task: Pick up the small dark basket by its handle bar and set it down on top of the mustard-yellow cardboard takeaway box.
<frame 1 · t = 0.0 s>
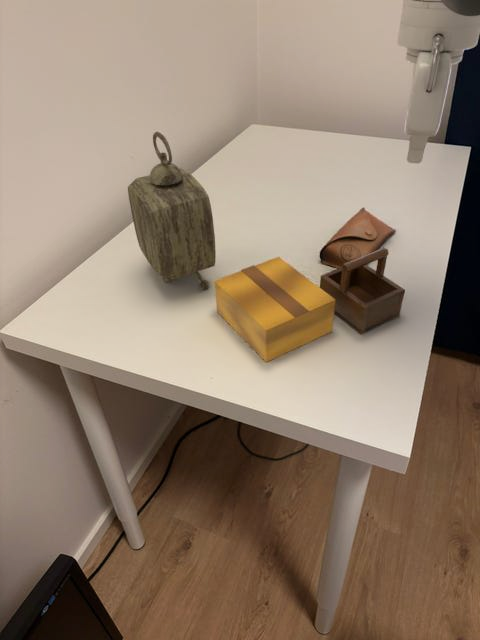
hand: (415, 147, 64), 24 cm above the table, tool pointing down, fingers open, 8 cm apart
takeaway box: (272, 321, 75), on the table
sunglasses case: (358, 247, 91), on the table
tabletop clock: (178, 279, 85), on the table
basket: (358, 308, 77), on the table
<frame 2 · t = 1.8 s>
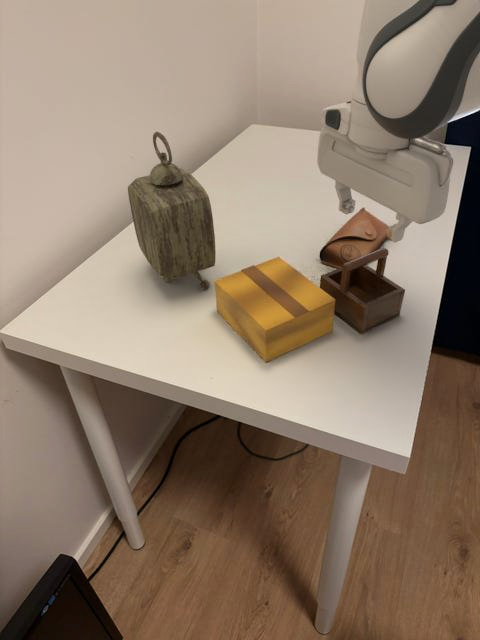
hand: (368, 224, 68), 15 cm above the table, tool pointing down, fingers open, 8 cm apart
nothing on the table moved.
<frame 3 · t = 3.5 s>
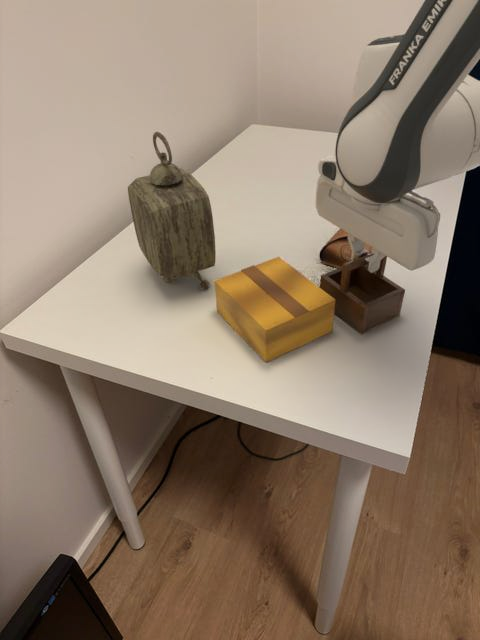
hand: (364, 265, 72), 8 cm above the table, tool pointing down, fingers closed on basket
basket: (358, 308, 77), on the table, touching gripper
everything else where it was.
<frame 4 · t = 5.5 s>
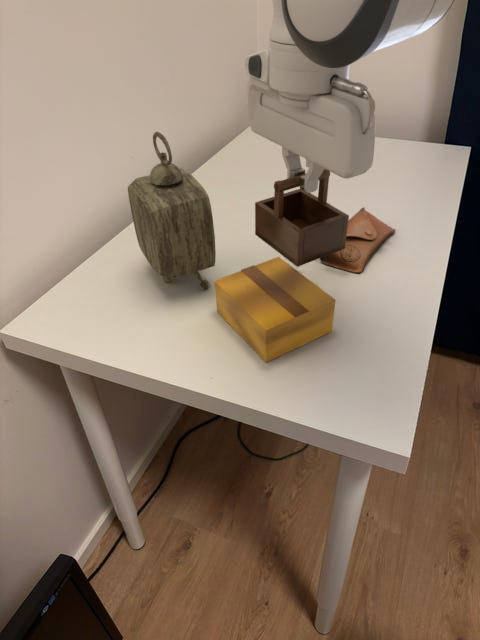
hand: (301, 186, 62), 22 cm above the table, tool pointing down, fingers closed on basket
basket: (298, 241, 67), point 13 cm above the table, touching gripper
everything else where it was.
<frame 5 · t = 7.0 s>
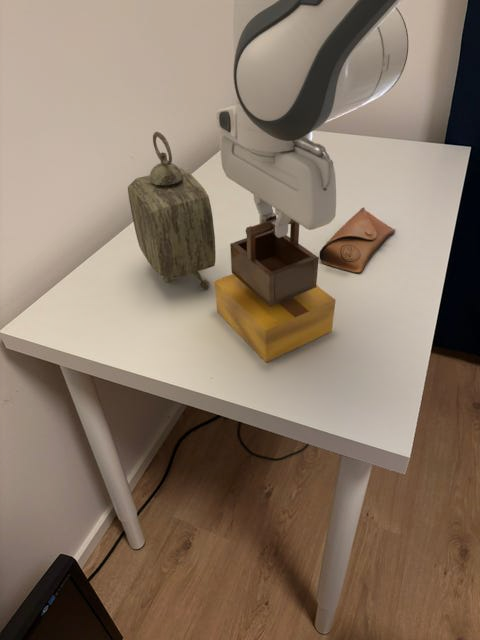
hand: (273, 230, 65), 16 cm above the table, tool pointing down, fingers closed on basket
basket: (272, 279, 70), point 8 cm above the table, touching gripper
everything else where it was.
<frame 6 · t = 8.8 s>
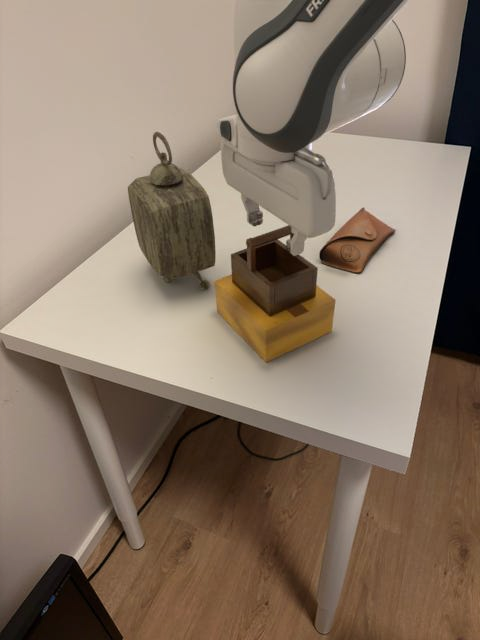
hand: (273, 237, 66), 15 cm above the table, tool pointing down, fingers open, 8 cm apart
basket: (272, 289, 71), point 6 cm above the table, touching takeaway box
everything else where it was.
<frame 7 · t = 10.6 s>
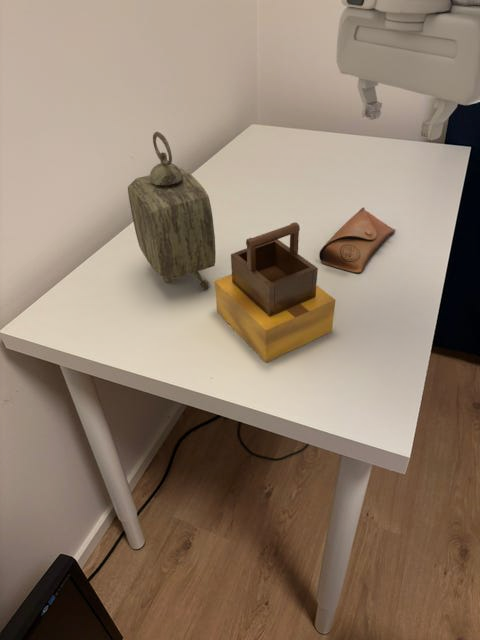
hand: (398, 127, 58), 28 cm above the table, tool pointing down, fingers open, 8 cm apart
nothing on the table moved.
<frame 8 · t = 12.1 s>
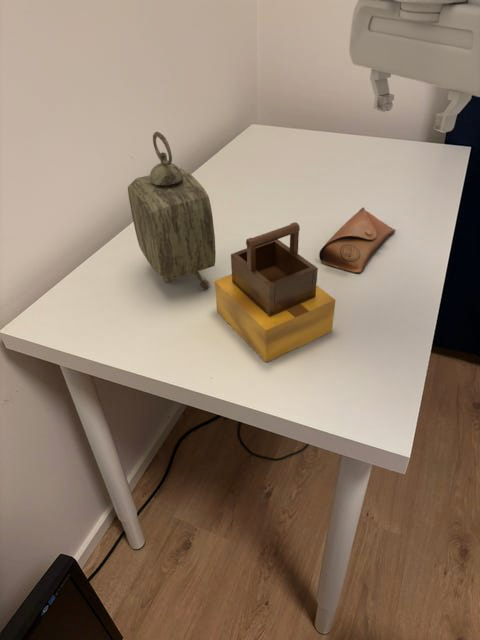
hand: (411, 119, 58), 29 cm above the table, tool pointing down, fingers open, 8 cm apart
nothing on the table moved.
at the end: basket 0.1 cm off-centre on the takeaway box, point 6.1 cm above the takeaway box's base; basket tilted 0°; the gripper is holding nothing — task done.
